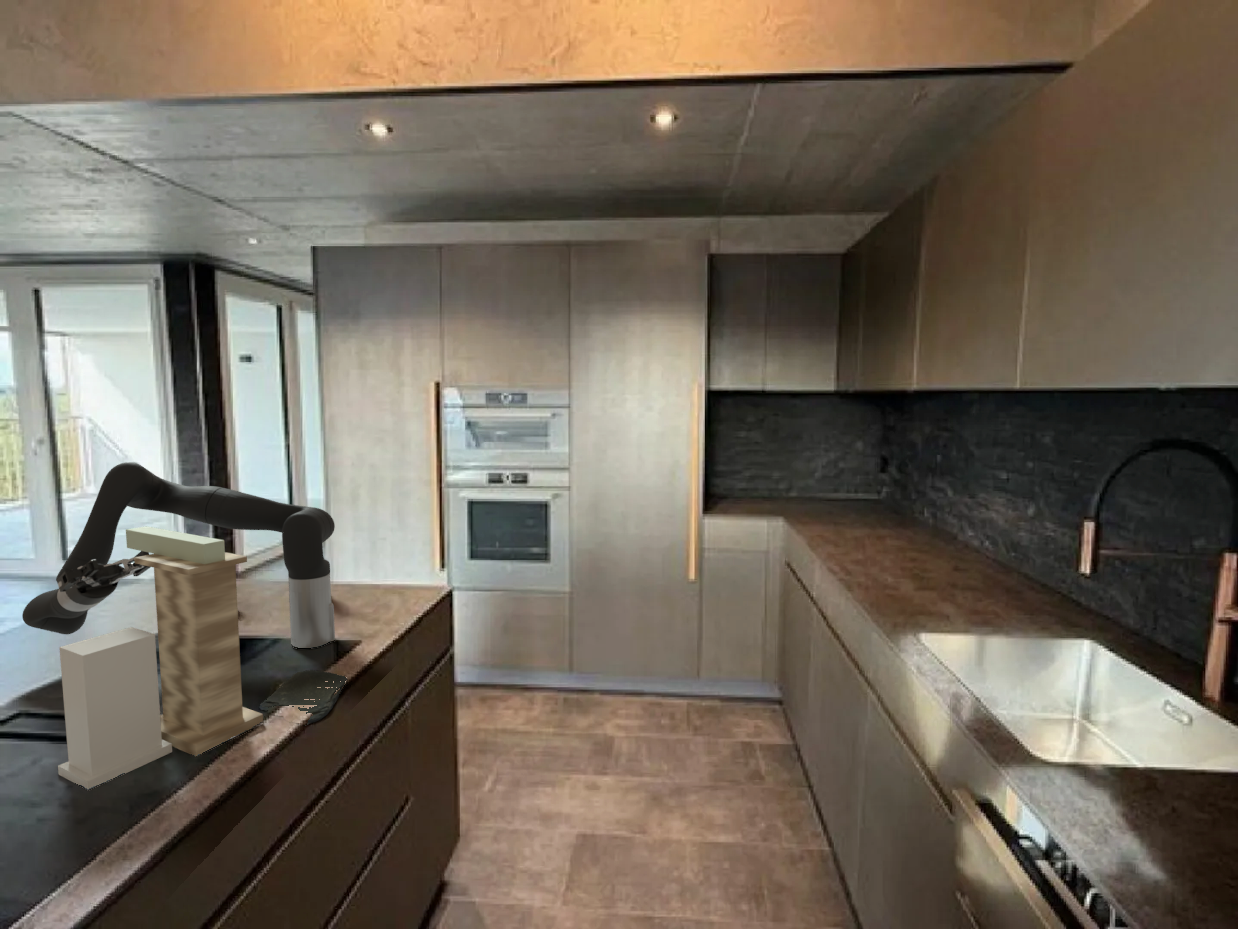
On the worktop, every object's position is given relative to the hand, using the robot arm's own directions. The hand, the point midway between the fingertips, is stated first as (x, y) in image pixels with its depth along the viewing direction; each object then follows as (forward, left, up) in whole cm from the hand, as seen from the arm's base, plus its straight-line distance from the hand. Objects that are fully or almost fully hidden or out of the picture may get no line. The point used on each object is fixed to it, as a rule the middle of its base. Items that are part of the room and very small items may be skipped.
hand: (121, 559), depth 123 cm
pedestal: (+2, +26, -29) cm, 39 cm away
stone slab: (-28, +20, -29) cm, 45 cm away
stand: (-10, +21, -29) cm, 37 cm away
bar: (-8, +17, +3) cm, 19 cm away
